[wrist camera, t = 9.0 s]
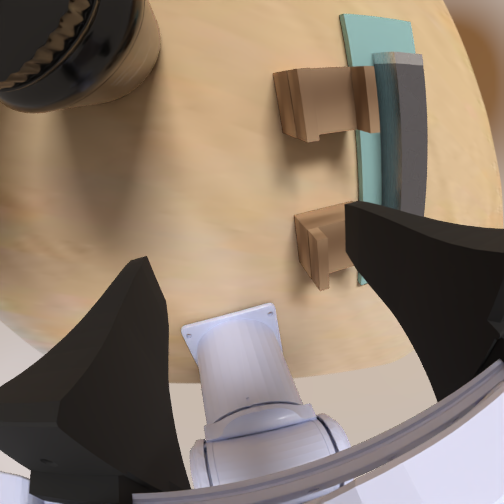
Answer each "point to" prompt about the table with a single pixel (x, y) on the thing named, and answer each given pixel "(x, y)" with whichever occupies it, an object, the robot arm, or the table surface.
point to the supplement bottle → (74, 51)
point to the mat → (360, 54)
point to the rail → (402, 130)
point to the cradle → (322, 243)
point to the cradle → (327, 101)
